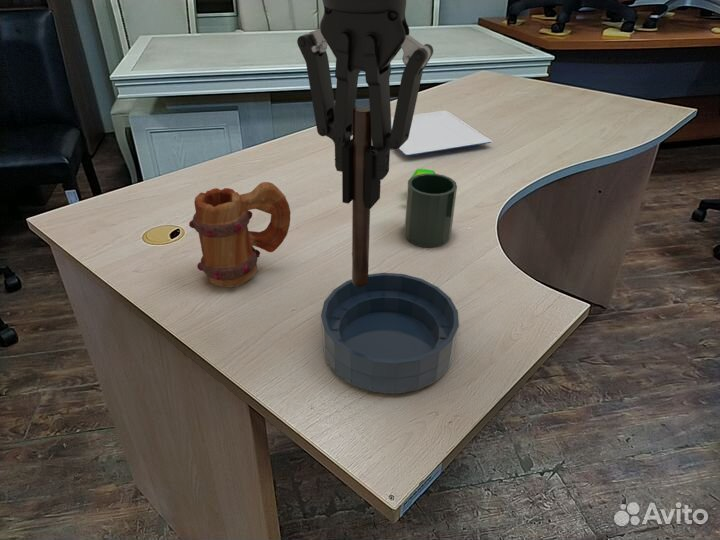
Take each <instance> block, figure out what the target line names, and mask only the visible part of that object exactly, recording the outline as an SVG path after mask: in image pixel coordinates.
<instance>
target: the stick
mask: <svg viewBox="0 0 720 540" xmlns="http://www.w3.org/2000/svg"><path fill="white" fill-rule="evenodd" d="M352 138H353V197H352V201H351V202H352V207H351V209H352V212H351V213H352V215H351V216H352V217H351V219H352V221H351V223H352V224H351V228H352V230H351V238H352V239H351V241H352V242H351V279H352V283H353V285H354V286H356V287H364V286H366V285H367V284H368V274H369V268H370V267H369V266H370V265H369V264H370V263H369V262H370V230H371V229H370V225H371V209H369V208H365V207H364V198H365V151H367V150H368V149H369V148H370V147H371V146H372V133H371V118H370V105H357V106H356V105H355V107H354V108H353V135H352Z"/></svg>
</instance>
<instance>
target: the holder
mask: <svg viewBox="0 0 720 540" xmlns="http://www.w3.org/2000/svg"><path fill="white" fill-rule="evenodd" d="M409 179H410V180H409ZM409 179H408V180H407V189H406V202H405V204H406V205H405V216H404V217H405V219H404V238H405V239H406V241H408V242H409V243H411V244H412V245H414V246H416V247H420V248H427V249H428V248H429V249H430V248H431V249H433V248H439V247H442V246H445V245H447V243H449V241H451V240H450V239H451V235H452V231H453V230H452V229H453V222H454V214H455V206H456V199H457V198H456V197H457V191H458V184H457V181H455V180H454V179H453V178H451V177H449V176H446V175H443V174H439V173H435V174H427V173H426V174H420V175H416V176H414V177H412V176H410V177H409Z"/></svg>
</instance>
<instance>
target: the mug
mask: <svg viewBox="0 0 720 540" xmlns="http://www.w3.org/2000/svg"><path fill="white" fill-rule="evenodd" d="M286 197H287V196H286V195H285V194H284V193H283V192H282V191H281V189H279V187H277V185H275V184H274V183H272V182H270V181H264V182H260V183H258V185H256V187H254V189H252V190H251V191H250V192H246V193H241V194H240V193H238V192H237V191H235V190H234V189H233V188H230V187H224V188H223V189H220V188H216V187H215V188H212V189H209V190H207V191H205V192H199V193H198V194H197V195H196V197H195V198H194V209H195V213H194V214H193V217H192V219H191V220H190V221H189V223H188V224H189V225H188V226H189V227H190V228H191V229H194V230H195V231H196V233H198V237H199V242H200V247H201V253H202V257H201V258H200V262H198V264H197V265H196V267H197V270H199V271H201V272H203V273H204V275H206V277H207V278H208V281H209V282H210V283H211V284H213V285H215V286H217V287H222V288H233V287H237V286H242V285H243V284H246V283H247V282H249V281H250V280H251V278H253V276H254V275H255V274H256V273H257V272H258V263H257V262H258V259H259V258H260V256H261V252H260V251H259V250H258V249H256V248H259V249H261V250H263V251H265V252H268V253H273V252H275V251H276V250H277V249H278V248H279V247H280V246H281V245H282V244H283V242H284V240H285V239H286V237H287V236H288V232H289V230H290V225H291V208H290V203H289V202H288V200H287V198H286ZM252 210H258V211H261V212H264V213H266V214H270V222H269V223H268V225H267V227H266V228H265V229H264V230H262V231H261V230H260V231H255V230H254V231H253V230H249V226H248V225H249V223H250V220H251V219H252V218H253V212H252ZM254 247H256V248H254Z"/></svg>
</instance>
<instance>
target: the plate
mask: <svg viewBox="0 0 720 540" xmlns="http://www.w3.org/2000/svg"><path fill="white" fill-rule="evenodd" d="M393 120H394V116H391V128H392V125H393ZM492 142H493V140H492V139H490V138H489V137H487V136H486V135H484V134H482V133H481V132H480V131H477V129H475V128H474V127H472V126H470V125H469V124H468V123H466V122H464V121H462V119H460V118H458V117H457V116H455V115H454V114H452V113H451V112H449V111H448V110H439V111H430V112H423V113H414V114H413V119H412V124H411V128H410V133H409V138H408V140H407V141H406V142H405V143H404V144H403V145H402V146H401V147H400V148H399V149H398V150H399V151H400V152H401V153H403V155H405V156H407V157H410V156H416V155H423V154H429V153H435V152H436V153H437V152H443V151H448V150H455V149H462V148H468V147H473V146H479V145H480V146H481V145H486V144H491V143H492Z"/></svg>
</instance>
